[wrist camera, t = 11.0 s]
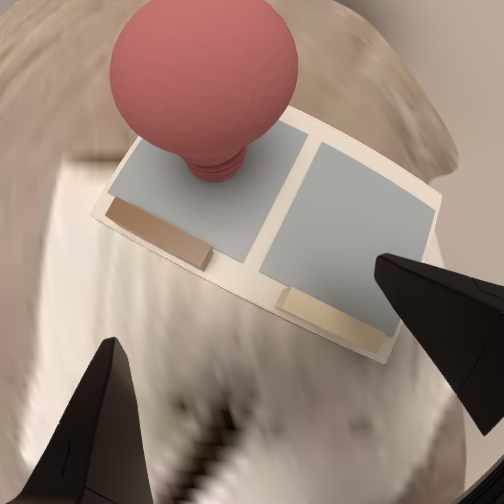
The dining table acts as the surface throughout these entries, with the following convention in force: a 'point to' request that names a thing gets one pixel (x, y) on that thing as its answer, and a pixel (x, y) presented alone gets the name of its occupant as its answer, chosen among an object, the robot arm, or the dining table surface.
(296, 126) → the board
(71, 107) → the dining table surface
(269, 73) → the light bulb
